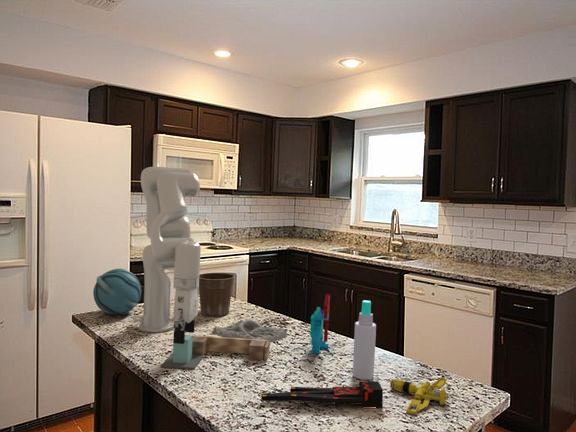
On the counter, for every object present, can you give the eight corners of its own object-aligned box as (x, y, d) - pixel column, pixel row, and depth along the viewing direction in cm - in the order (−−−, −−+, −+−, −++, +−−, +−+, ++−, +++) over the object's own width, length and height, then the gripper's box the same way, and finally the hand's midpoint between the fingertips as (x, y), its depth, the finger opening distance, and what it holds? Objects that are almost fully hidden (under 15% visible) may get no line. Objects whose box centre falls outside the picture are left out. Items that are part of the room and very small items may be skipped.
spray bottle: (348, 373, 131) (352, 299, 130) (365, 370, 134) (369, 298, 133) (360, 381, 126) (363, 304, 125) (377, 378, 128) (381, 303, 127)
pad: (160, 367, 130) (160, 365, 130) (172, 355, 140) (172, 353, 140) (194, 369, 129) (194, 367, 129) (203, 357, 139) (203, 355, 139)
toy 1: (149, 282, 196) (111, 256, 189) (154, 292, 178) (113, 264, 171) (121, 317, 192) (82, 292, 186) (124, 330, 175) (81, 303, 168)
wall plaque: (290, 336, 165) (290, 326, 164) (255, 349, 150) (255, 338, 149) (244, 323, 179) (244, 313, 179) (208, 333, 164) (208, 323, 164)
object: (188, 311, 191) (189, 274, 190) (219, 306, 202) (220, 271, 201) (208, 320, 179) (210, 280, 179) (241, 314, 190) (242, 276, 190)
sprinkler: (402, 363, 129) (455, 376, 120) (402, 377, 129) (456, 390, 120) (373, 395, 113) (433, 412, 104) (374, 410, 113) (433, 428, 105)
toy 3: (261, 414, 109) (383, 411, 109) (261, 394, 108) (383, 391, 109) (262, 398, 117) (376, 396, 118) (262, 380, 117) (376, 377, 117)
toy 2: (324, 326, 136) (330, 289, 147) (305, 325, 137) (312, 288, 149) (326, 361, 148) (331, 324, 159) (309, 359, 149) (315, 322, 160)
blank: (172, 362, 133) (173, 339, 132) (177, 356, 137) (178, 334, 137) (187, 363, 132) (188, 340, 132) (191, 357, 137) (192, 335, 137)
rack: (184, 355, 140) (185, 341, 140) (190, 348, 146) (191, 335, 146) (266, 361, 138) (267, 347, 138) (269, 353, 144) (269, 340, 144)
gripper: (189, 290, 126) (187, 349, 127) (206, 277, 143) (203, 329, 144) (164, 288, 126) (161, 346, 128) (183, 275, 144) (181, 327, 145)
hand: (184, 337), depth 136 cm, fingers open, 9 cm apart
